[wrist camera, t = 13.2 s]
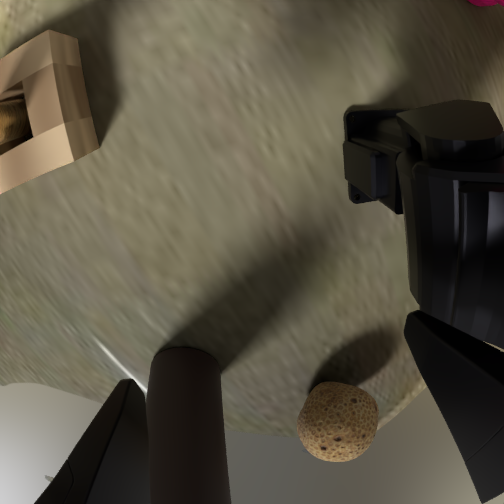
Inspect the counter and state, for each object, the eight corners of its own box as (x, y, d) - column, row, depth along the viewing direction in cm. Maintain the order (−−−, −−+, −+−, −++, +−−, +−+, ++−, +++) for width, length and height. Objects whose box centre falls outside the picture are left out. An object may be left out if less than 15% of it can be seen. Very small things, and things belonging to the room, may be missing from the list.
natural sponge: (375, 358, 30) (410, 429, 22) (344, 402, 34) (368, 466, 26) (302, 361, 28) (329, 447, 20) (279, 407, 32) (295, 480, 24)
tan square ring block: (77, 38, 13) (48, 29, 9) (99, 147, 17) (74, 161, 13) (-8, 88, 12) (-42, 92, 9) (14, 183, 16) (-16, 202, 13)
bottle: (205, 393, 29) (217, 571, 12) (144, 377, 27) (130, 566, 10) (231, 356, 27) (259, 572, 9) (161, 336, 25) (148, 572, 7)
